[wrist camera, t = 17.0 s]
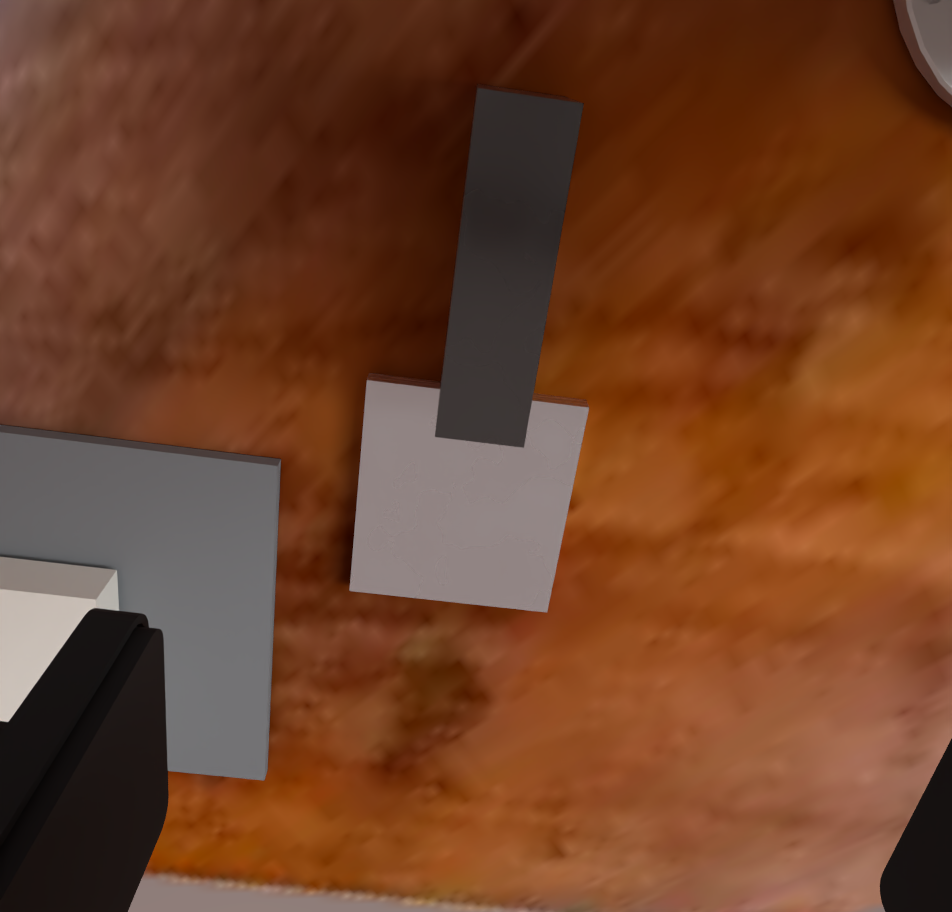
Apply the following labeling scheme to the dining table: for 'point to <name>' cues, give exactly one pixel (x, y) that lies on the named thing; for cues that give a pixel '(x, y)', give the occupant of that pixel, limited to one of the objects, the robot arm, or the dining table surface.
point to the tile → (42, 618)
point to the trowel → (481, 390)
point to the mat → (166, 569)
